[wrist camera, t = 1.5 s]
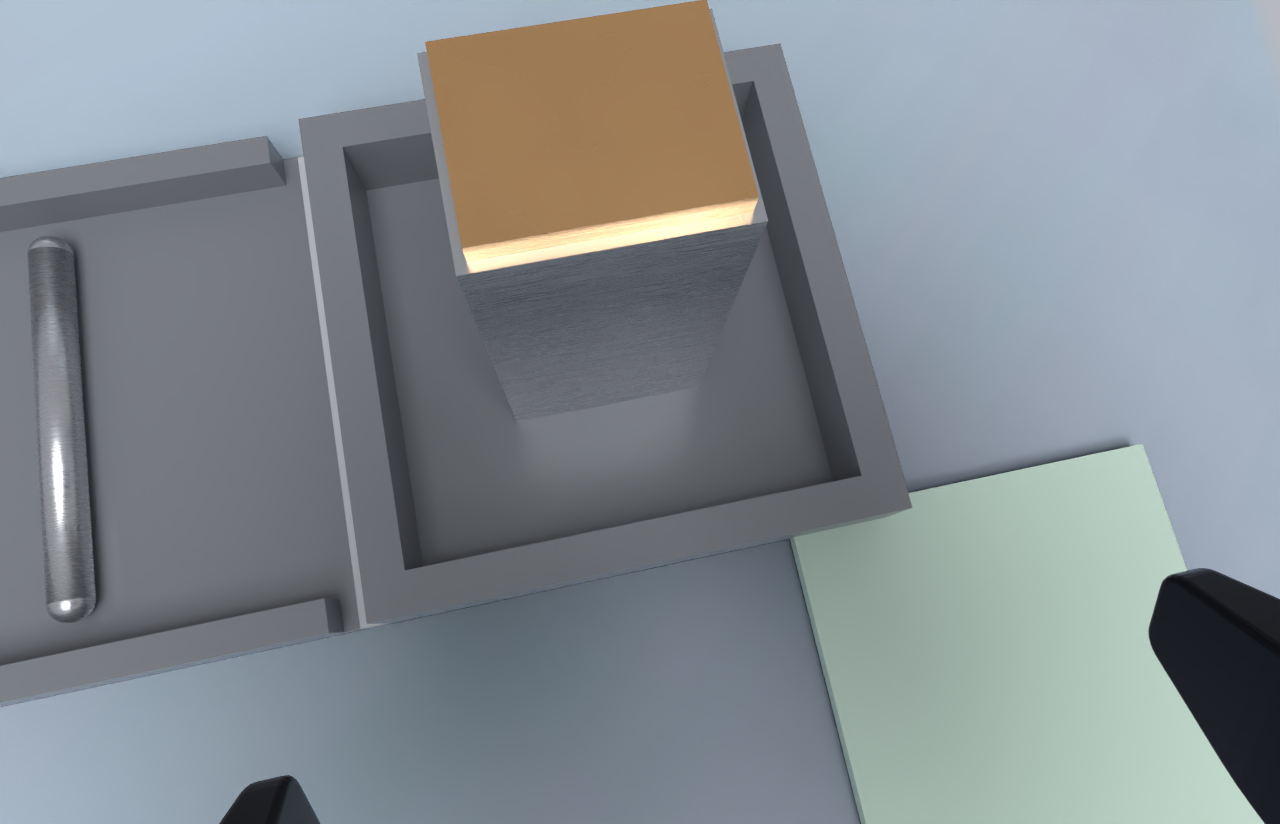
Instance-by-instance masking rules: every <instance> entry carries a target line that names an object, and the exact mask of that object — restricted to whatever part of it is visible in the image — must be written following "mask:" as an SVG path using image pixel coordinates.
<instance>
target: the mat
mask: <svg viewBox="0 0 1280 824" xmlns="http://www.w3.org/2000/svg"><path fill="white" fill-rule="evenodd" d="M908 494H909V497H910V501H911V504H912V508H910V509H908V510H905V511H902V512H899V513H897V514H894V515H891V516H888V517H886V518H881V519H876V520H871V521H867V522H862V523H857V524H853V525H848V526H843V527H839V528H834V529H829V530H825V531H820V532H815V533H810V534H806V535H801V536H796V537H793V538H791V539H790V541H791V545H792V549H793V553H794V557H795V561H796V565H797V569H798V573H799V577H800V581H801V585H802V589H803V593H804V597H805V601H806V605H807V609H808V613H809V617H810V621H811V625H812V629H813V633H814V637H815V641H816V645H817V649H818V653H819V657H820V661H821V665H822V669H823V673H824V677H825V681H826V685H827V689H828V693H829V697H830V701H831V705H832V709H833V713H834V717H835V721H836V725H837V729H838V733H839V737H840V741H841V745H842V749H843V753H844V757H845V761H846V765H847V769H848V773H849V777H850V781H851V785H852V789H853V793H854V797H855V801H856V805H857V809H858V813H859V817H860V821H861V824H1264V822H1263V821H1262V820H1261V818H1260V817H1259V816H1258V814H1257V813H1256V812H1255V810H1254V809H1253V808H1252V806H1251V805H1250V803H1249V802H1248V801H1247V799H1246V798H1245V796H1244V795H1243V794H1242V792H1241V791H1240V789H1239V788H1238V787H1237V785H1236V784H1235V782H1234V781H1233V779H1232V778H1231V776H1230V775H1229V773H1228V772H1227V770H1226V769H1225V767H1224V765H1223V764H1222V762H1221V761H1220V759H1219V758H1218V756H1217V754H1216V753H1215V751H1214V749H1213V748H1212V746H1211V745H1210V743H1209V741H1208V740H1207V738H1206V736H1205V735H1204V733H1203V732H1202V730H1201V728H1200V727H1199V725H1198V723H1197V722H1196V720H1195V719H1194V717H1193V715H1192V714H1191V712H1190V710H1189V709H1188V707H1187V706H1186V704H1185V702H1184V701H1183V699H1182V697H1181V696H1180V694H1179V693H1178V691H1177V689H1176V688H1175V686H1174V684H1173V683H1172V681H1171V680H1170V678H1169V676H1168V675H1167V673H1166V671H1165V670H1164V668H1163V667H1162V665H1161V663H1160V662H1159V660H1158V658H1157V657H1156V655H1155V653H1154V651H1153V649H1152V647H1151V644H1150V640H1149V634H1148V629H1149V624H1150V621H1151V617H1152V614H1153V610H1154V607H1155V603H1156V600H1157V596H1158V593H1159V589H1160V586H1161V583H1162V581H1163V580H1164V579H1165V578H1166V577H1167V576H1169V575H1171V574H1175V573H1179V572H1183V571H1187V569H1186V566H1185V563H1184V560H1183V557H1182V554H1181V552H1180V549H1179V546H1178V543H1177V540H1176V537H1175V534H1174V532H1173V529H1172V526H1171V523H1170V520H1169V517H1168V515H1167V512H1166V509H1165V506H1164V503H1163V500H1162V498H1161V495H1160V492H1159V489H1158V486H1157V483H1156V481H1155V478H1154V475H1153V472H1152V469H1151V466H1150V464H1149V461H1148V458H1147V455H1146V452H1145V449H1144V447H1143V444H1139V445H1134V446H1129V447H1124V448H1120V449H1115V450H1110V451H1105V452H1101V453H1096V454H1091V455H1086V456H1082V457H1077V458H1072V459H1067V460H1063V461H1058V462H1053V463H1049V464H1044V465H1039V466H1034V467H1030V468H1025V469H1020V470H1015V471H1011V472H1006V473H1001V474H996V475H992V476H987V477H982V478H977V479H973V480H968V481H963V482H958V483H954V484H949V485H944V486H939V487H935V488H930V489H925V490H920V491H916V492H911V493H908Z"/></svg>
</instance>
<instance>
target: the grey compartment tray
mask: <svg viewBox="0 0 1280 824" xmlns="http://www.w3.org/2000/svg"><path fill="white" fill-rule="evenodd" d="M723 53H724V57H725V61H726V64H727V68H728V72H729V76H730V79H731V83H732V87H733V91H734V94H735V98H736V102H737V106H738V109H739V113H740V117H741V121H742V124H743V128H744V132H745V136H746V139H747V143H748V147H749V151H750V154H751V158H752V162H753V166H754V169H755V173H756V177H757V180H758V184H759V188H760V192H761V195H762V199H763V203H764V207H765V210H766V214H767V218H768V223H767V225H766V227H765V230H764V232H763V235H762V237H761V239H760V242H759V244H758V246H757V249H756V251H755V254H754V256H753V258H752V261H751V263H750V265H749V268H748V270H747V273H746V275H745V277H744V280H743V282H742V284H741V287H740V289H739V291H738V294H737V296H736V299H735V301H734V303H733V306H732V308H731V310H730V313H729V315H728V318H727V320H726V322H725V325H724V327H723V329H722V332H721V334H720V336H719V339H718V341H717V344H716V346H715V348H714V351H713V353H712V355H711V358H710V360H709V363H708V365H707V367H706V370H705V372H704V374H703V377H702V379H701V381H700V384H699V386H698V387H696V388H691V389H686V390H681V391H675V392H670V393H665V394H660V395H655V396H650V397H644V398H639V399H634V400H629V401H624V402H619V403H614V404H608V405H603V406H598V407H593V408H588V409H583V410H577V411H572V412H567V413H562V414H557V415H552V416H547V417H541V418H536V419H531V420H526V421H521V422H517V421H516V419H515V416H514V414H513V412H512V409H511V407H510V404H509V402H508V400H507V397H506V395H505V392H504V390H503V388H502V385H501V383H500V380H499V378H498V376H497V373H496V371H495V368H494V366H493V364H492V361H491V359H490V356H489V354H488V352H487V349H486V347H485V344H484V342H483V340H482V337H481V335H480V332H479V330H478V328H477V325H476V323H475V320H474V318H473V316H472V313H471V311H470V308H469V306H468V304H467V301H466V299H465V296H464V294H463V292H462V289H461V287H460V284H459V282H458V280H457V277H456V273H455V267H454V262H453V256H452V250H451V244H450V239H449V233H448V227H447V221H446V216H445V210H444V204H443V198H442V192H441V187H440V181H439V175H438V169H437V164H436V158H435V152H434V146H433V141H432V135H431V129H430V123H429V118H428V112H427V106H426V100H425V99H424V100H417V101H411V102H405V103H398V104H392V105H385V106H379V107H373V108H366V109H360V110H354V111H347V112H341V113H334V114H328V115H322V116H315V117H309V118H303V119H299V126H300V133H301V140H302V148H303V155H304V156H303V157H297V158H291V159H284V160H283V159H282V157H281V156H280V155H279V153H278V152H277V150H276V149H275V147H274V146H273V144H272V143H271V141H270V140H269V139H268V137H267V136H263V137H257V138H250V139H244V140H238V141H232V142H225V143H219V144H213V145H206V146H200V147H194V148H187V149H181V150H175V151H168V152H162V153H156V154H149V155H143V156H137V157H130V158H124V159H118V160H111V161H105V162H99V163H92V164H86V165H80V166H73V167H67V168H61V169H54V170H48V171H42V172H35V173H29V174H23V175H16V176H10V177H4V178H0V707H3V706H8V705H12V704H17V703H22V702H26V701H31V700H36V699H40V698H45V697H50V696H55V695H59V694H64V693H69V692H73V691H78V690H83V689H87V688H92V687H97V686H101V685H106V684H111V683H116V682H120V681H125V680H130V679H134V678H139V677H144V676H148V675H153V674H158V673H162V672H167V671H172V670H177V669H181V668H186V667H191V666H195V665H200V664H205V663H209V662H214V661H219V660H223V659H228V658H233V657H238V656H242V655H247V654H252V653H256V652H261V651H266V650H270V649H275V648H280V647H284V646H289V645H294V644H299V643H303V642H308V641H313V640H317V639H322V638H327V637H331V636H336V635H341V634H345V633H350V632H355V631H360V630H364V629H369V628H372V627H377V626H381V625H386V624H391V623H397V622H402V621H406V620H411V619H416V618H421V617H425V616H430V615H435V614H439V613H444V612H449V611H453V610H458V609H463V608H467V607H472V606H477V605H482V604H486V603H491V602H496V601H500V600H505V599H510V598H514V597H519V596H524V595H528V594H533V593H538V592H543V591H547V590H552V589H557V588H561V587H566V586H571V585H575V584H580V583H585V582H589V581H594V580H599V579H604V578H608V577H613V576H618V575H622V574H627V573H632V572H636V571H641V570H646V569H650V568H655V567H660V566H665V565H669V564H674V563H679V562H683V561H688V560H693V559H697V558H702V557H707V556H711V555H716V554H721V553H726V552H730V551H735V550H740V549H744V548H749V547H754V546H758V545H763V544H768V543H772V542H777V541H782V540H787V539H791V538H793V537H796V536H801V535H806V534H810V533H815V532H820V531H825V530H829V529H834V528H839V527H843V526H848V525H853V524H857V523H862V522H867V521H871V520H876V519H881V518H886V517H888V516H891V515H894V514H897V513H899V512H902V511H905V510H908V509H910V508H912V504H911V501H910V497H909V494H908V490H907V487H906V483H905V479H904V476H903V472H902V469H901V465H900V462H899V458H898V455H897V451H896V448H895V444H894V441H893V437H892V434H891V430H890V427H889V423H888V420H887V416H886V413H885V409H884V406H883V402H882V399H881V395H880V392H879V388H878V385H877V381H876V378H875V374H874V371H873V367H872V364H871V360H870V357H869V353H868V350H867V346H866V343H865V339H864V336H863V332H862V329H861V325H860V322H859V318H858V315H857V311H856V308H855V304H854V301H853V297H852V293H851V290H850V286H849V283H848V279H847V276H846V272H845V269H844V265H843V262H842V258H841V255H840V251H839V248H838V244H837V241H836V237H835V234H834V230H833V227H832V223H831V220H830V216H829V213H828V209H827V206H826V202H825V199H824V195H823V192H822V188H821V185H820V181H819V178H818V174H817V171H816V167H815V164H814V160H813V157H812V153H811V150H810V146H809V143H808V139H807V136H806V132H805V129H804V125H803V122H802V118H801V114H800V111H799V107H798V104H797V100H796V97H795V93H794V90H793V86H792V83H791V79H790V76H789V72H788V69H787V65H786V62H785V58H784V55H783V51H782V48H781V44H774V45H768V46H762V47H755V48H749V49H743V50H736V51H730V52H723ZM42 236H54V237H58V238H60V239H62V240H64V241H65V242H66V243H67V244H68V245H69V246H70V247H71V249H72V251H73V255H74V267H75V282H76V297H77V313H78V328H79V343H80V359H81V374H82V389H83V405H84V420H85V435H86V451H87V466H88V481H89V497H90V512H91V527H92V542H93V558H94V573H95V588H96V604H95V607H94V609H93V611H92V612H91V613H90V614H89V615H88V616H87V617H86V618H84V619H83V620H81V621H78V622H75V623H61V622H58V621H56V620H54V619H53V618H51V617H50V615H49V614H48V612H47V610H46V605H45V587H44V568H43V548H42V529H41V510H40V491H39V471H38V452H37V433H36V414H35V394H34V375H33V356H32V337H31V317H30V298H29V279H28V260H27V250H28V248H29V245H30V244H31V243H32V242H33V241H34V240H35V239H37V238H39V237H42Z"/></svg>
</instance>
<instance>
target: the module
mask: <svg viewBox="0 0 1280 824" xmlns="http://www.w3.org/2000/svg"><path fill="white" fill-rule="evenodd" d="M425 43H426V49H427V52H423V53H417V54H418V60H419V66H420V72H421V77H422V83H423V89H424V95H425V100H426V106H427V112H428V118H429V123H430V129H431V135H432V141H433V146H434V152H435V158H436V164H437V169H438V175H439V181H440V187H441V192H442V198H443V204H444V210H445V216H446V221H447V227H448V233H449V239H450V244H451V250H452V256H453V262H454V267H455V273H456V277H457V280H458V282H459V284H460V287H461V289H462V292H463V294H464V296H465V299H466V301H467V304H468V306H469V308H470V311H471V313H472V316H473V318H474V320H475V323H476V325H477V328H478V330H479V332H480V335H481V337H482V340H483V342H484V344H485V347H486V349H487V352H488V354H489V356H490V359H491V361H492V364H493V366H494V368H495V371H496V373H497V376H498V378H499V380H500V383H501V385H502V388H503V390H504V392H505V395H506V397H507V400H508V402H509V404H510V407H511V409H512V412H513V414H514V416H515V419H516V421H517V422H521V421H526V420H531V419H536V418H541V417H547V416H552V415H557V414H562V413H567V412H572V411H577V410H583V409H588V408H593V407H598V406H603V405H608V404H614V403H619V402H624V401H629V400H634V399H639V398H644V397H650V396H655V395H660V394H665V393H670V392H675V391H681V390H686V389H691V388H696V387H698V386H699V384H700V381H701V379H702V377H703V374H704V372H705V370H706V367H707V365H708V363H709V360H710V358H711V355H712V353H713V351H714V348H715V346H716V344H717V341H718V339H719V336H720V334H721V332H722V329H723V327H724V325H725V322H726V320H727V318H728V315H729V313H730V310H731V308H732V306H733V303H734V301H735V299H736V296H737V294H738V291H739V289H740V287H741V284H742V282H743V280H744V277H745V275H746V273H747V270H748V268H749V265H750V263H751V261H752V258H753V256H754V254H755V251H756V249H757V246H758V244H759V242H760V239H761V237H762V235H763V232H764V230H765V227H766V225H767V223H768V218H767V214H766V210H765V207H764V203H763V199H762V195H761V192H760V188H759V184H758V180H757V177H756V173H755V169H754V166H753V162H752V158H751V154H750V151H749V147H748V143H747V139H746V136H745V132H744V128H743V124H742V121H741V117H740V113H739V109H738V106H737V102H736V98H735V94H734V91H733V87H732V83H731V79H730V76H729V72H728V68H727V64H726V61H725V57H724V53H723V49H722V46H721V42H720V38H719V34H718V31H717V27H716V23H715V19H714V16H713V12H712V9H709V7H708V3H707V0H700V1H694V2H687V3H680V4H674V5H667V6H660V7H654V8H647V9H641V10H634V11H627V12H621V13H614V14H607V15H601V16H594V17H587V18H581V19H574V20H567V21H561V22H554V23H548V24H541V25H534V26H528V27H521V28H514V29H508V30H501V31H494V32H488V33H481V34H475V35H468V36H461V37H455V38H448V39H441V40H435V41H428V42H425Z"/></svg>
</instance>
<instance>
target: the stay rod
mask: <svg viewBox="0 0 1280 824" xmlns="http://www.w3.org/2000/svg"><path fill="white" fill-rule="evenodd" d="M27 260H28V279H29V298H30V317H31V337H32V356H33V375H34V394H35V414H36V433H37V452H38V471H39V491H40V510H41V529H42V548H43V568H44V587H45V605H46V610H47V612H48V614H49V615H50V617H51V618H53V619H54V620H56V621H58V622H61V623H75V622H78V621H81V620H83V619H84V618H86V617H87V616H88V615H89V614H90V613H91V612H92V611H93V609H94V607H95V604H96V588H95V573H94V558H93V542H92V527H91V512H90V497H89V481H88V466H87V451H86V435H85V420H84V405H83V389H82V374H81V359H80V343H79V328H78V313H77V297H76V282H75V267H74V255H73V251H72V249H71V247H70V246H69V245H68V244H67V243H66V242H65V241H64V240H62V239H60V238H58V237H54V236H42V237H39V238H37V239H35V240H34V241H33V242H32V243H31V244H30V245H29V248H28V250H27Z"/></svg>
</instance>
